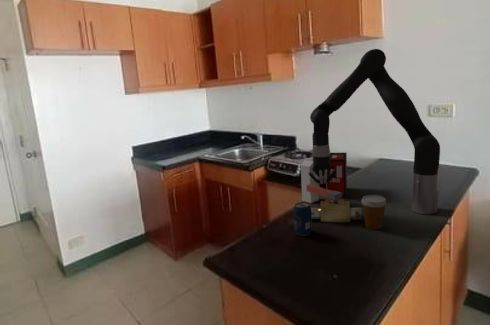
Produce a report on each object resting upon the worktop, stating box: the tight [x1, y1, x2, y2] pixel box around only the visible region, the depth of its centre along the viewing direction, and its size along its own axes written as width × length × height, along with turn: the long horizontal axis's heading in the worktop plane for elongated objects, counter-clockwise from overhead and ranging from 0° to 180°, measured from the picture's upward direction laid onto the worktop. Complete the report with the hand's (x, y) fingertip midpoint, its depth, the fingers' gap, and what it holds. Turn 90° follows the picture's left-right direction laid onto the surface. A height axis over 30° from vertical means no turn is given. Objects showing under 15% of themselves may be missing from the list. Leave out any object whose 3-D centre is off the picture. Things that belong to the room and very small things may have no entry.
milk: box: [300, 157, 320, 204], centre depth 167 cm, size 6×6×22 cm
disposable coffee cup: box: [360, 194, 388, 230], centre depth 134 cm, size 10×10×12 cm
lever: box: [306, 184, 343, 200], centre depth 149 cm, size 18×4×3 cm, turn 32°
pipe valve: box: [311, 198, 363, 223], centre depth 145 cm, size 25×7×9 cm, turn 78°
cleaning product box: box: [326, 152, 348, 199], centre depth 175 cm, size 16×9×20 cm, turn 161°
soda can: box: [293, 201, 313, 237], centre depth 134 cm, size 7×7×12 cm
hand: (323, 190), depth 154 cm, fingers closed
